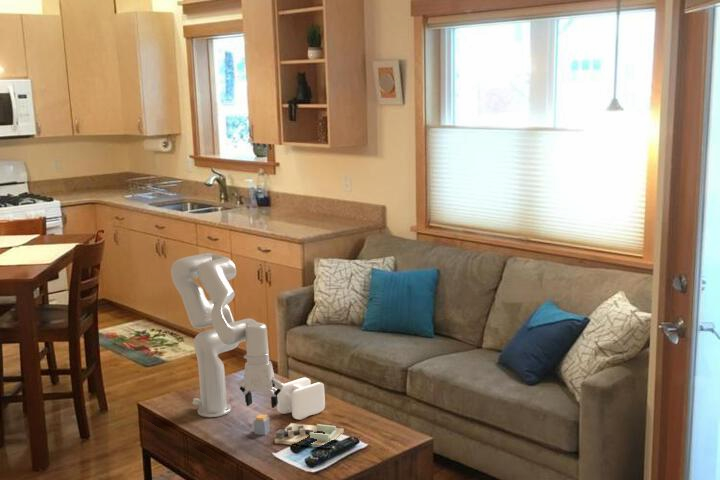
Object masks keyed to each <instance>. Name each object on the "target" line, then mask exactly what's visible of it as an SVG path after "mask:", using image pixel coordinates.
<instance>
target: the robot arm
mask: <svg viewBox="0 0 720 480" xmlns="http://www.w3.org/2000/svg"><path fill="white" fill-rule="evenodd" d="M170 275H171V276H170V277H171V280H172V283H173V284H174V286H175V289H176V290H177V292H178V293H179V295H180V298H181V299H182V303H183V306H184V309H185V312H186V314H187V318H188V320H189V322H190V324H191V326H192V328H194V329H198V330H199V329H204V328H208V327H211V326H212V327H213V328H211V329H207V330H204V331H202V332H200V333H198V334H197V335H196V336H195V337H194V338H193V348H194V352H195V356H196V359H197V360H196V361H197V367H198V369H197V370H198V378H199V379H198V380H199V382H198V383H199V392H200V398H198V397H197V398H196V397H194V398H193V399H192V406H198V408H197V409H196V410H197V414H198V415H199V416H201V417H203V418H204V417H205V418H218V417H223V416H225V415H227V414H229V413H230V412H231V411H232V405H231V404H230V403H228V401H227V388H226V386H227V385H226V376H225V375H226V372H225V365H224V362H223V361H222V359H220V358H219V354H222V353H225V352H229V351H232V350H234V349H236V348H237V347H238V346H239V344H240V343H243V342H245V346H246V347H245V348H246V354H244V355H243V358H244V359H245V360H246V362H245V364H244V371H243V375H244V376H243V378H241V379H240V380H238V381H237V382H236V384H237V386H238V387H239V390H240V392H242V393H243V395H244V399H245V404H246V405H245V406H246V407H249V406H250V405H252V403H253V397H252V393H253V392H255V393H269V394H270V396H271V397H270V403H271V404H270V405H271V408H272V409H274V408H275V407H277V404H278V398H277V395H278V394H279V392H280V391H281V390H282V388H283V385H284V384H285V383H283V382H281V381H280V380H278V379H276V378H275V373H274V371H275V370H274V369H273V368H274V366H273V363H272V361H271V360H270V351H269V339H268V338H269V337H268V329H267V328H268V327H267V325H266V324H265V323H264V322H258V321H256V320H255V319H253V318H249V317H248V318H244V319H241V320H236V321H235V319H234V317H233V314H232V310H231V308H230V306H229V304H230V303H231V302H232V301H233V299H234V297H235V296H236V295H235V290H234V288H232V285H231V284H230V282H229V281H231V280H234V278H235V277H236V276H237V267H236V265H235V263H234V262H233V260H232V259H230V258H228V257H227V256H223V255H221V254H217V253H213V252H206V253H200V254H196V255H189V256H185V257H181V258H179V259H177V260H175V261H174V262H173V263H172V265H171V268H170ZM194 279H199V281H200V283H201V284H202V286H203V287H202V286H201V285H200V284H199V283H198V282H196V281H194ZM203 288H204V289H203ZM205 291H206V294H207V295H208V297H209V299H210V300H208V298H207V296H206V294H205ZM276 386H277V387H278V389H277V388H275V387H276ZM276 389H277V390H276Z"/></svg>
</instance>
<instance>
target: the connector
mask: <svg viewBox="0 0 720 480" xmlns="http://www.w3.org/2000/svg"><path fill="white" fill-rule="evenodd" d="M253 425H254V427H253V428H254V435H260V436H261V435H262V436H266V435H267V434H268V433H269V432H270V430H271V425H270V417H268V415H267V414H261V413H260V414H258V415H257V416H255V419H254V420H253Z"/></svg>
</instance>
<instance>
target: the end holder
mask: <svg viewBox="0 0 720 480" xmlns="http://www.w3.org/2000/svg"><path fill="white" fill-rule="evenodd" d="M316 426H317V431H323V432H331V435H330V436H329V434H323V433H313V432H310V438H314V439H317V440H322V441H329V440H331V439H332V438H333V437H334V436H335V434H336V428H337V426H336V425H329V424H319V423H317V424H316Z"/></svg>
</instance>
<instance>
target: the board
mask: <svg viewBox="0 0 720 480" xmlns="http://www.w3.org/2000/svg"><path fill="white" fill-rule="evenodd" d="M310 432H313V433H314V432H317V425H313V424H302V423H292V422H290V424H289V425H287V426H286V427H285V429H278V430H277V431H276V432H275V439H274V443H275V444H282V445H289V446H293V445H292V444H294V443H297V442H299V441H301V440H303V439H305V438H307V437H308V436H309V435H310ZM325 434H329V436H330V435H331V432H325ZM341 434H342V435H343V434H344V428H340V427H336V434H335V436H334V437H333V438H332V439H331V440H334V439H337V438H338V437H339V436H340V435H341ZM342 435H341V436H342ZM341 436H340V437H341ZM340 437H339V438H340ZM339 438H338V439H339ZM331 440H329V441H331ZM329 441H322V440H317V441H315V442H313V443H311V444H312V445H314V446H321V445H324V444H325V443H327V442H329Z"/></svg>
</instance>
